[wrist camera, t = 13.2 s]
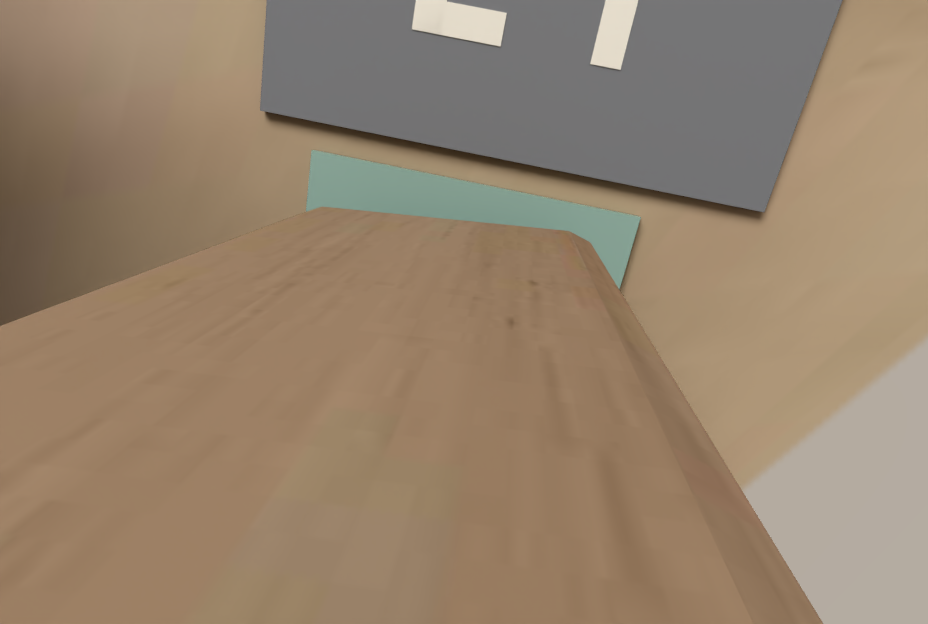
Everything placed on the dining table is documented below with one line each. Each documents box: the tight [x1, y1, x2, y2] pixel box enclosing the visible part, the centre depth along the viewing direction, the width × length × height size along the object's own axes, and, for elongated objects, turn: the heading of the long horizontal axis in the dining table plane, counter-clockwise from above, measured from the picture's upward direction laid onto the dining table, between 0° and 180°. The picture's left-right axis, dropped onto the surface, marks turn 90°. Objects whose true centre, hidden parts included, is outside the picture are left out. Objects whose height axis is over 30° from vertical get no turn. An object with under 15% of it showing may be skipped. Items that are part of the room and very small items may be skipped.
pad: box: [306, 150, 641, 289], centre depth 22 cm, size 12×12×1 cm
